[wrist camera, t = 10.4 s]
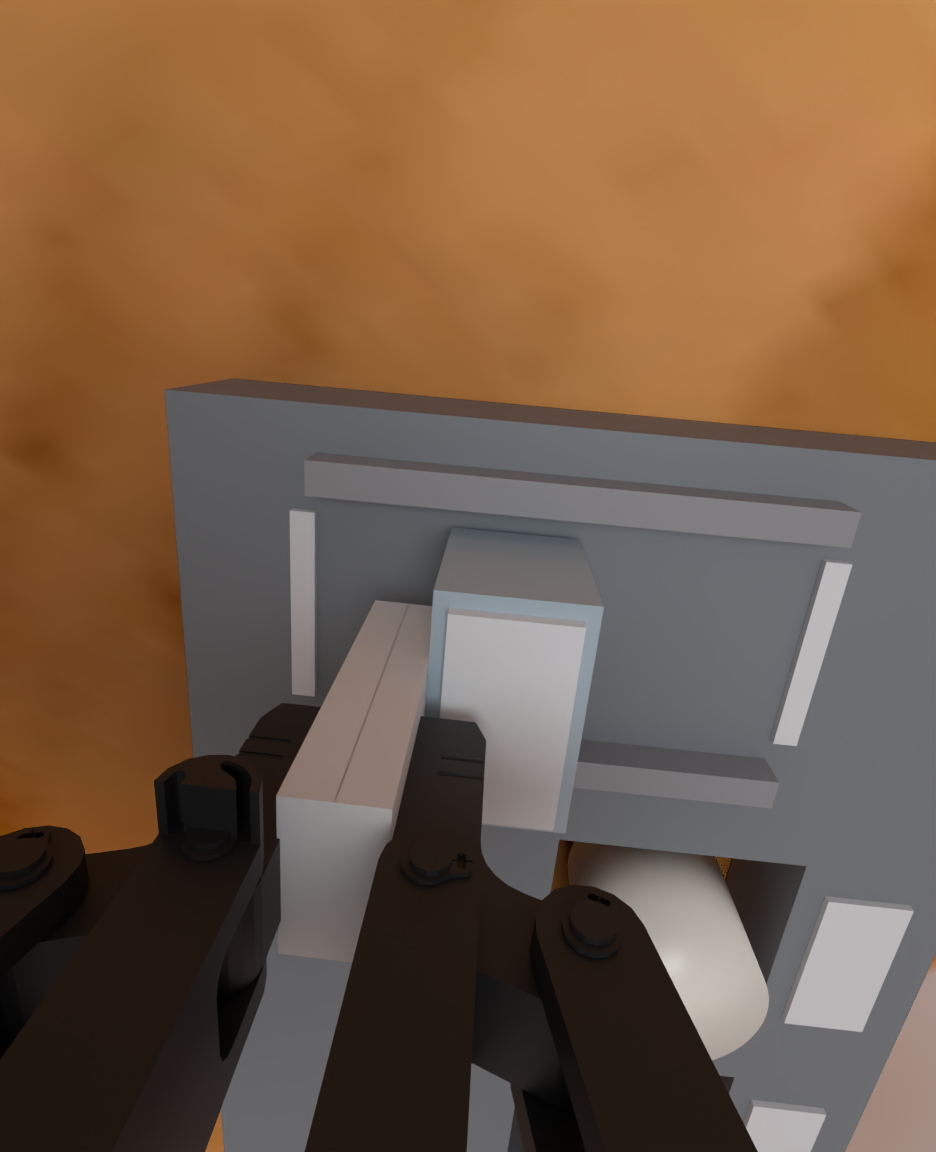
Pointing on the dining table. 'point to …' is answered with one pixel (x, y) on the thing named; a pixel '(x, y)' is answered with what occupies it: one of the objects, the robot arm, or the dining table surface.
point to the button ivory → (686, 933)
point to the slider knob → (516, 665)
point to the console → (610, 688)
